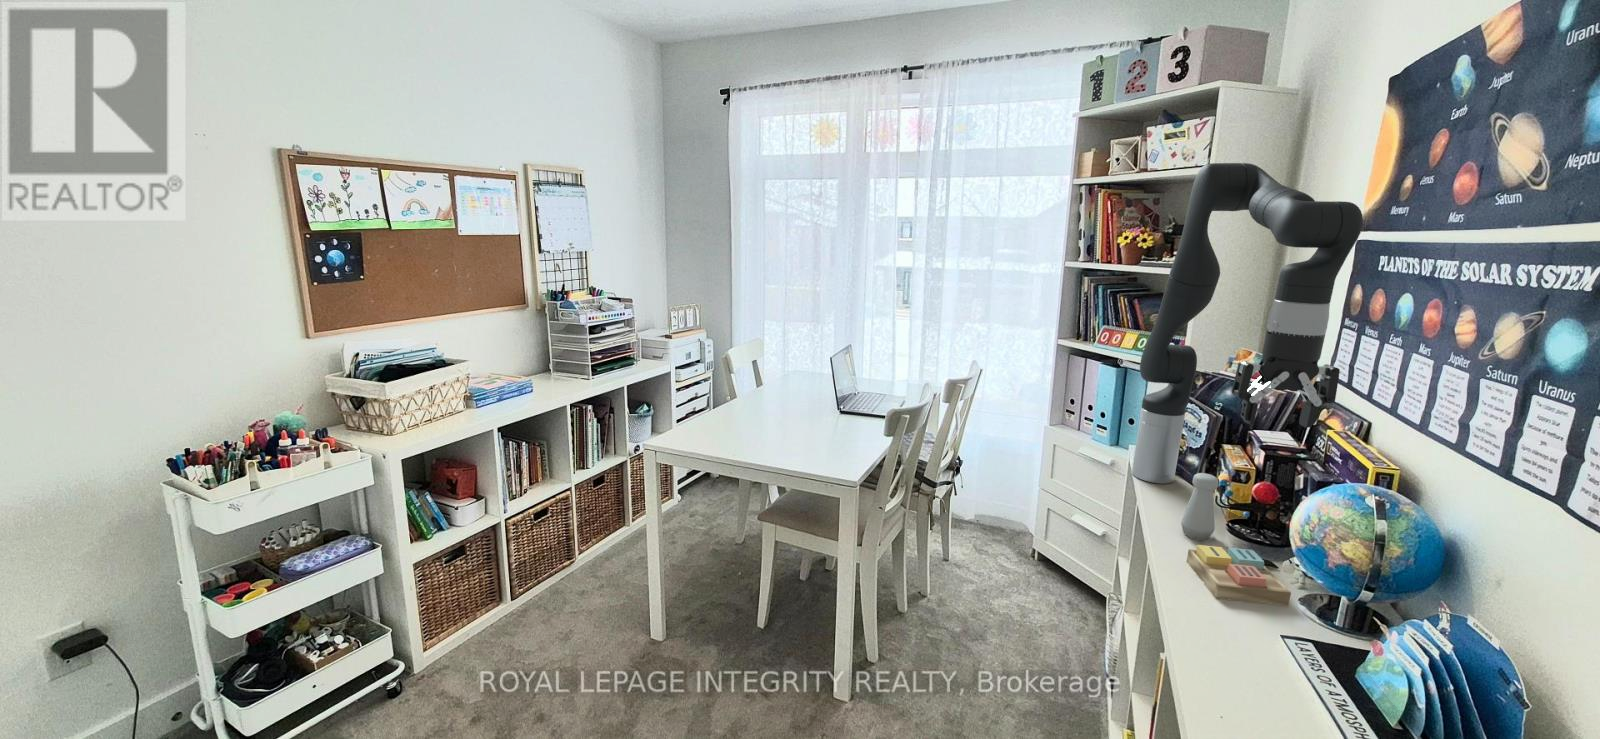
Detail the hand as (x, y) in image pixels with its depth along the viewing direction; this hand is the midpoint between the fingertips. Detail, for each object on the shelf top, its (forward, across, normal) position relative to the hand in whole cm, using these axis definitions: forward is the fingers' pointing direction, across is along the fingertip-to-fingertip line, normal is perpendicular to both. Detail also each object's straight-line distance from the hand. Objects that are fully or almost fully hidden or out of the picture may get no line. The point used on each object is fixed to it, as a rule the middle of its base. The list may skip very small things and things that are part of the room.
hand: (1276, 424), depth 105 cm
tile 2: (+27, 0, -1) cm, 27 cm away
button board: (+29, +3, +2) cm, 29 cm away
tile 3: (+27, +3, +5) cm, 28 cm away
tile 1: (+27, +5, -1) cm, 28 cm away
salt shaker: (+29, +2, -15) cm, 33 cm away
